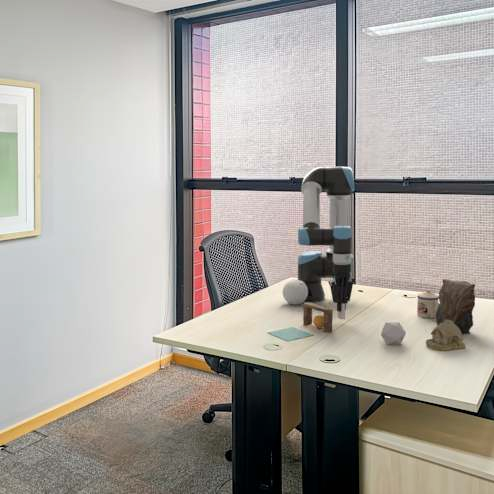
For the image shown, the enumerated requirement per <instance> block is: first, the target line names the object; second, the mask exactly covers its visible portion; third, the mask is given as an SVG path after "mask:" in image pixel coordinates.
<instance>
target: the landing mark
mask: <svg viewBox="0 0 494 494" xmlns="http://www.w3.org/2000/svg"><path fill="white" fill-rule="evenodd" d="M266 333H267V334H268V335H272V336H274V337H276V338H279V339H280V340H282V341H285V342H290V341H295V340H299V339H303V338H308V337H312V336H314V334H313V333H310V332H307V331H305V330H302V329H299V328H296V327H295V326H292V327H287V328H283V329H279V330H278V329H277V330H273V331H269V332H266Z"/></svg>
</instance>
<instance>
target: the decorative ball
mask: <svg viewBox="0 0 494 494" xmlns="http://www.w3.org/2000/svg"><path fill="white" fill-rule="evenodd" d="M307 295H308V288H307V286H306V284H305V283H304V282H303V281H300V280H298V279H291V280H289V281H286V283H285V284H284V286H283V288H282V296H283V299H284V300H285V301H286V302H287V303H288V304H290V305H293V306H296V305H301V304H302V303H305V300H306V298H307Z"/></svg>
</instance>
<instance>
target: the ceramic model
mask: <svg viewBox="0 0 494 494" xmlns="http://www.w3.org/2000/svg"><path fill="white" fill-rule="evenodd" d="M430 335H431V337H432V338H429V339H426V340H425V345H426V347H427V348H429V349H431V350H435V351H451V350H459V349H465V348H466V344H465V343H464V342H463V340H465V339H464V337H463V334H462V333H461V331H460V329H459V328H458V327H457V326H456V325H455V324H454V323H453V321H450V320H448V319H446V320H445V322H443V323H440V324H439V325H438V326H437V325H436V326H435V327H434V328H433V329H432V331H431V332H430Z"/></svg>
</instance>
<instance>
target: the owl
mask: <svg viewBox="0 0 494 494" xmlns="http://www.w3.org/2000/svg"><path fill="white" fill-rule="evenodd" d="M475 286H476V284H475V283H470V282H468V281H466V280H461V281H459V280H451V279H447V278H442V285H441V288H440V289H439V293H438V296H439V300H438V303H439V306H438V308H437V311H436V317H435V320H436V327H437V326H438V325H439V324H440V323H443V322H445V320H446V319H448V320H450V321H453V323H454V324H455V325H456V326H457V327H458V328H459V329H460V331H461V333H462V335H468V334H471V332H470V330H471V328H472V327H473V326H474V321H473V319H474V318H473V317H474V315H473V310H474V308H475V306H476V294H475Z"/></svg>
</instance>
